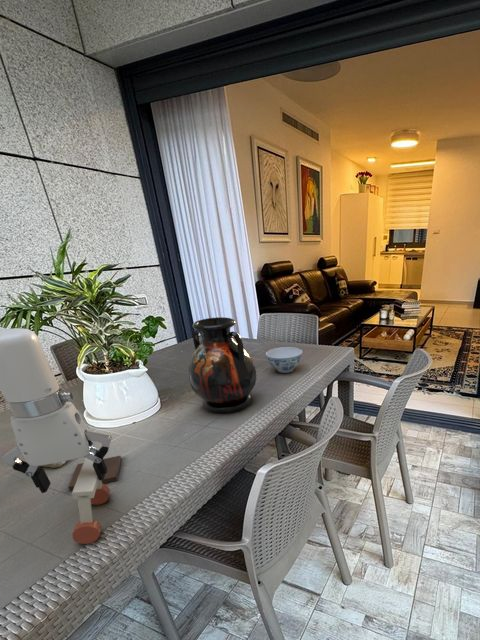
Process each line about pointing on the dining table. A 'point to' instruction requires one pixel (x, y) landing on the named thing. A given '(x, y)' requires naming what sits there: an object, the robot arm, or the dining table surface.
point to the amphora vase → (221, 366)
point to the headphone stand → (110, 476)
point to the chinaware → (284, 358)
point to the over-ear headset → (88, 503)
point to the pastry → (55, 464)
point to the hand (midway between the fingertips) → (75, 482)
